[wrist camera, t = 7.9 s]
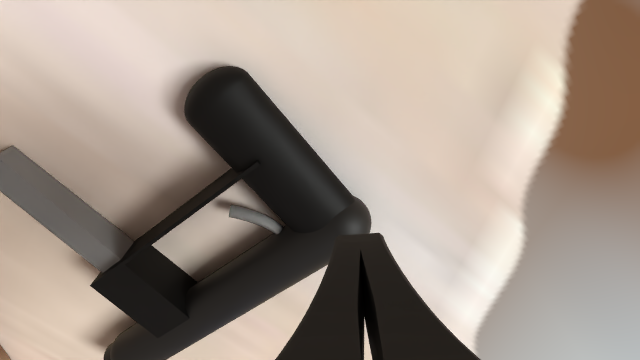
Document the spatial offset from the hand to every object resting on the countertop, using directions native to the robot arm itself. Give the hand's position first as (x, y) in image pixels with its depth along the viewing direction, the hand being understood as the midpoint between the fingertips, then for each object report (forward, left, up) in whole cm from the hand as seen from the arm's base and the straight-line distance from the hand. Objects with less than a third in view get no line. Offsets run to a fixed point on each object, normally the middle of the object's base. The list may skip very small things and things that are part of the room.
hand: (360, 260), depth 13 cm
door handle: (-5, +11, -10) cm, 15 cm away
